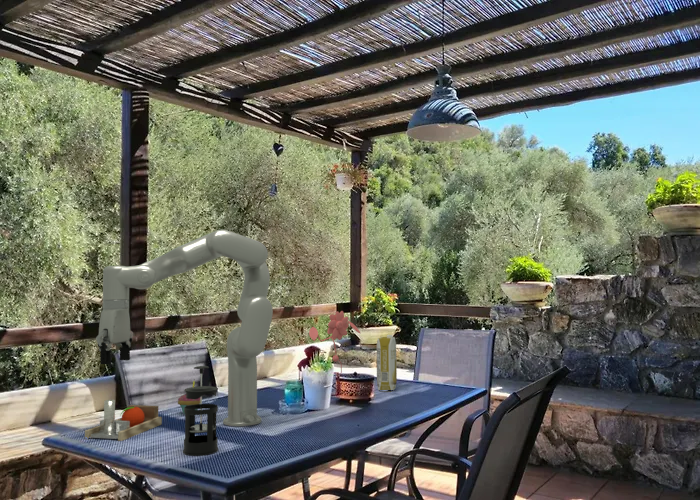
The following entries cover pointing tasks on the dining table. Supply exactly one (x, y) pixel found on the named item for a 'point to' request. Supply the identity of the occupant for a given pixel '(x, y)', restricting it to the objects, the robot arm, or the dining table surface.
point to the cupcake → (188, 400)
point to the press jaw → (110, 423)
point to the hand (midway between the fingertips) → (115, 362)
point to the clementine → (133, 415)
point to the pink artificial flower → (335, 330)
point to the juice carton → (386, 363)
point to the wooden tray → (148, 423)
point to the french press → (200, 442)
